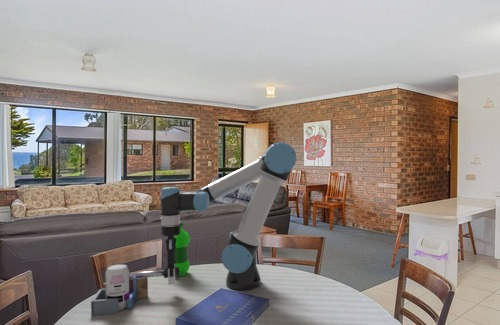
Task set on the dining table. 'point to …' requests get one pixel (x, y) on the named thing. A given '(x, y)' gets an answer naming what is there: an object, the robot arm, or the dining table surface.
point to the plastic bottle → (182, 250)
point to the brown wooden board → (140, 287)
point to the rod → (146, 274)
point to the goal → (103, 304)
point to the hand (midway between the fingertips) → (172, 281)
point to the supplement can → (117, 284)
